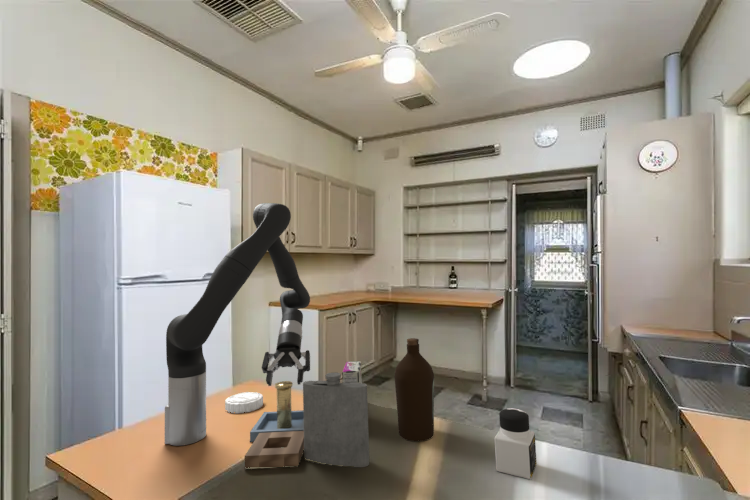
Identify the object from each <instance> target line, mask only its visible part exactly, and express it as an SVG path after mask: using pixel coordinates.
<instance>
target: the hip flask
mask: <svg viewBox="0 0 750 500" xmlns="http://www.w3.org/2000/svg"><path fill="white" fill-rule="evenodd" d="M324 377H325V380H306V381H303V382H302V398H303V399H302V403H303V404H302V405H303V406H302V410H303V415H304V452H303V458H304V457H305V458H306V459H310V460H313V461H317V462H321V463H326V464H332V465H343V466H354V467H353V468H365V467H367V466H369V465H370V445H369V443H370V440H369V436H370V435H369V408H368V407H369V405H368V404H369V403H368V385H367V384H366V383H363V382H362V383H343V382H341V379H342V373H340V372H328V373H325V376H324ZM332 465H331V466H332Z"/></svg>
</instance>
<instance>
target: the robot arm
mask: <svg viewBox="0 0 750 500" xmlns="http://www.w3.org/2000/svg"><path fill="white" fill-rule="evenodd" d="M291 213H292V212H291V211H290V208H289V207H288V206H286V205H285V204H283V203H282V204H281V203H277V202H276V203H275V202H264V203H263V202H262V203H259V204H258V205H256V206H255V208H254V209H253V213H252V219H253V223H254V226H255V228H256V229H255V231H254V232H253V233H252V234H251V235H250V236H248V237H247V238H245V240H243V241H242V242H240V243H239V244H237V245H236V246H235V247H233V248H231V249H230V251H228V252H227V253H226V254H225V255H224V257H222V259H221V261H220V262H219V263H218V264H217V266H216V268H215V269H214V271H213V272H212V274H211V276H210V278H209V280H208V283H207V285H206V287H205V290H204V292H203V294H202V296H201V297H200V299H198V301H197V302H196V303H195V304H194V306H193V307H191V309H190V310H189V311H188V313H184V314H180V315H178V316H175V317H174V318H173V319H172V320H171V321H170V322H169V324H168V325H167V328H166V331H165V332H166V335H165V340H166V341H165V344H166V347H165V348H166V351H165V352H166V355H165V356H166V365H167V372H168V374H167V375H168V378H167V379H168V383H167V384H168V386H167V387H168V389H167V390H168V393H167V395H168V397H167V398H168V399H167V403H168V404H166V405H165V407H164V444H166V445H170V446H177V447H178V446H186V445H190V444H194V443H197V442H199V441H201V440H202V439H204V438H205V437H206V435H207V363H206V362H207V361H206V359H205V357H204V353H203V345H204V344H205V343H206V341H208V340H209V339H208V338H209V337H210V335H211V333H212V332H213V330H214V328H215V326H216V325H217V323H218V321H219V319H220V318H221V316H222V314H223V313H224V311H225V309H226V308H227V307H228V305H229V304H230V303H231V302H232V300H234V298H235V296H237V294H238V292H239V291H240V289H242V287H243V286H244V284H245V283H246V282H247V280H248V279H249V278H250V276H251V275H252V273H253V272H254V270H255V269H256V267H257V266H258V264H259V263H260V262H261V260H262V259H263V258H264V256H265V255H266V253H267V252H268V254H269V257H270V258H271V262H272V263H273V267H274V270H275V274H276V277H277V279H278V280H277V281H278V283H279V285H280V287H282V288H284V289H289V290H285V291H283V292H282V293H281V294H280V296H279V303H280V308H281V321H280V322H281V323H280V327H279V331H278V336H277V343H276V351H275V352H274V353H270V352H269V351H266V352H265V353H264V357H263V360H262V364H261V370H262V373H263V374H266V377H265V382H266V384H267V385H268V387H270V386H272V384H273V383H272V382H273V376H274V375H273V374H274V373H275V372H276V371H278V370H279V369H280V368H292V367H294V368H296V370H297V378H296V379H297V380H296V381H297V382H296V383H297V385H301V384H303V382H304V373H305V372H310V370H311V353H310V350H308V349H307V350H305V351H303V352H301V350H302V349H301V348H302V339H303V323H304V322H303V320H304V314H303V312H302V311H301V310H300V309H305V308H308V306H309V305H310V302H311V296H310V294H309V291H308V289H307V288H306V287H305V285H304V284H303V282H302V280H301V278H300V275H299V272H298V268H297V265H296V262H295V260H294V258H293V256H292V255H291V253H290V251H289V250H288V249H287V247H286V246H285V244H284V243H283V241H282V239H281V235H282V234H283V233H284V232H285V231H286V229H287V228H288V227H289V225H290V222H291V217H292V214H291ZM301 358H303V359H304V360H305V363H304V364H305V365H302V363H301V362H300V359H301ZM273 359H274V360H273ZM272 360H273V361H272ZM270 362H272V363H271V364H270Z"/></svg>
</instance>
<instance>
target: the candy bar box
mask: <svg viewBox="0 0 750 500" xmlns="http://www.w3.org/2000/svg"><path fill="white" fill-rule="evenodd" d="M341 372H342V373H341V380H342V383H363V379H362V378H363V377H362V361H359V360H358V361H345V364H344V367H343V369H342V371H341Z"/></svg>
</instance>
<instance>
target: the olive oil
mask: <svg viewBox="0 0 750 500" xmlns="http://www.w3.org/2000/svg"><path fill="white" fill-rule="evenodd" d="M419 340H420V339H419V338H415V337H413V338H411V337H410V338H407V339H406V343H407V344H406V353H405V356H403V358H402V359H401V360H400V361H399V362H398V363H397V365H396V367H395V371H394V387H395V388H394V389H395V398H396V413H397V425H398V427H397V428H398V435H399V437H400V438H402V439H403V440H406V441H410V442H424V441H428V440H431V439H432V438H433V437H434V435H435V417H434V416H435V413H434V412H435V410H434V409H435V405H434V404H435V373H434V369H433V367H432V365H431V364H430V363H429V362H428V361H427V360H426V358H424V356H423V355H422V354H421V353H420V344H419V342H420V341H419Z"/></svg>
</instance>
